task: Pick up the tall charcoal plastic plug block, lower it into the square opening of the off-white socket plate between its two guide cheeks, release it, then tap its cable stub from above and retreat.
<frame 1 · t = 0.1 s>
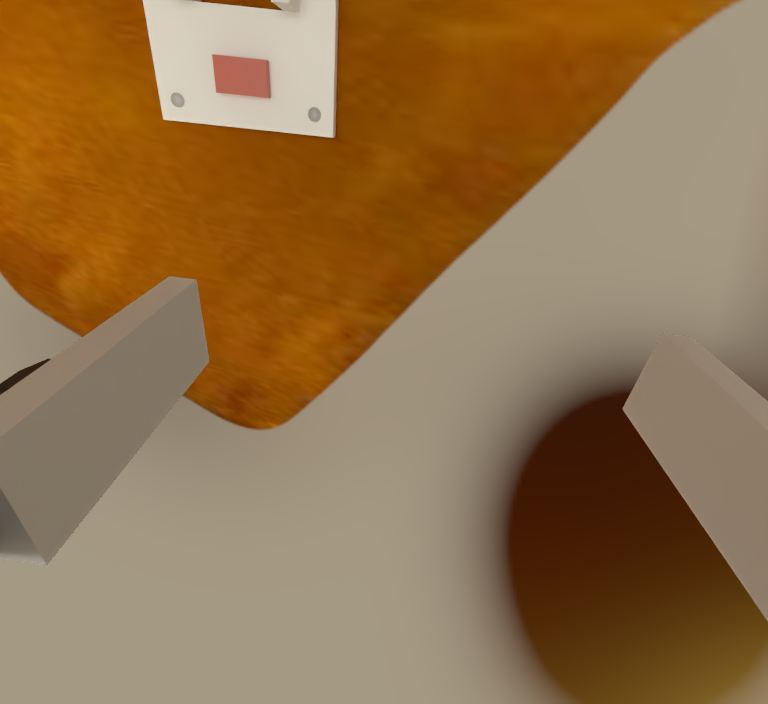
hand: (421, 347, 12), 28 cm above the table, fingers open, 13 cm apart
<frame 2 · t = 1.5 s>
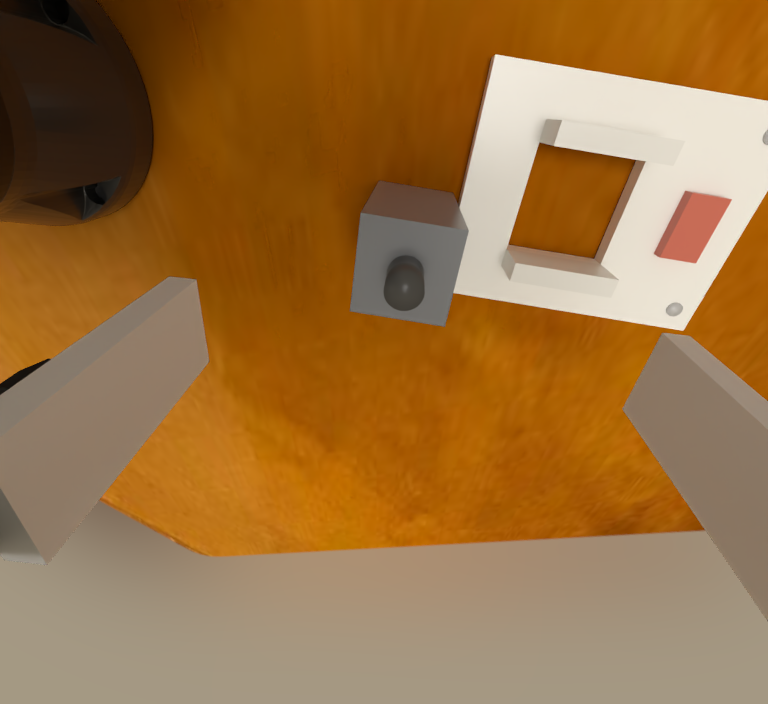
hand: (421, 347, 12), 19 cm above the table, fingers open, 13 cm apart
socket: (595, 208, 27), on the table
plug: (409, 224, 28), on the table
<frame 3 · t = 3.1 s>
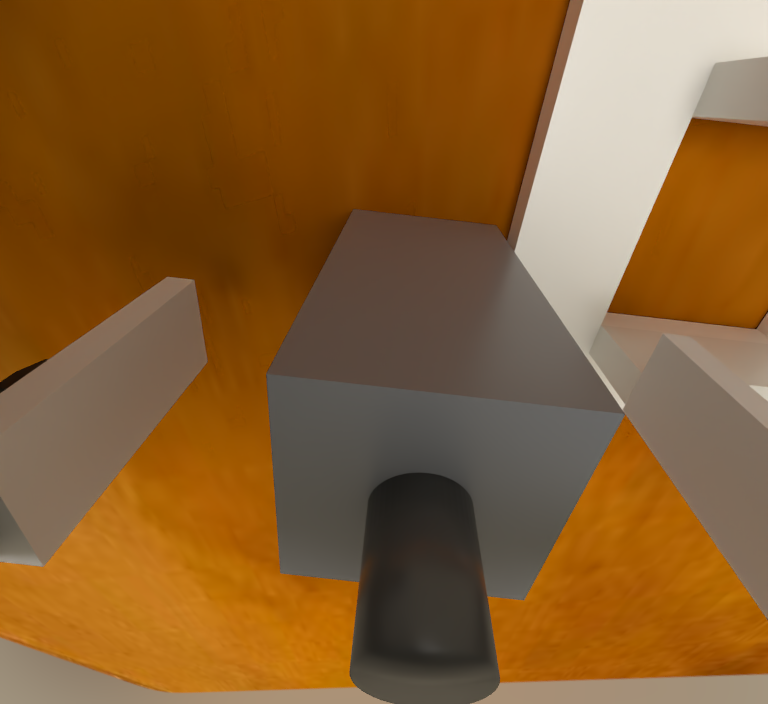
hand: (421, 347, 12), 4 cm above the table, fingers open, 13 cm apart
plug: (415, 284, 15), on the table
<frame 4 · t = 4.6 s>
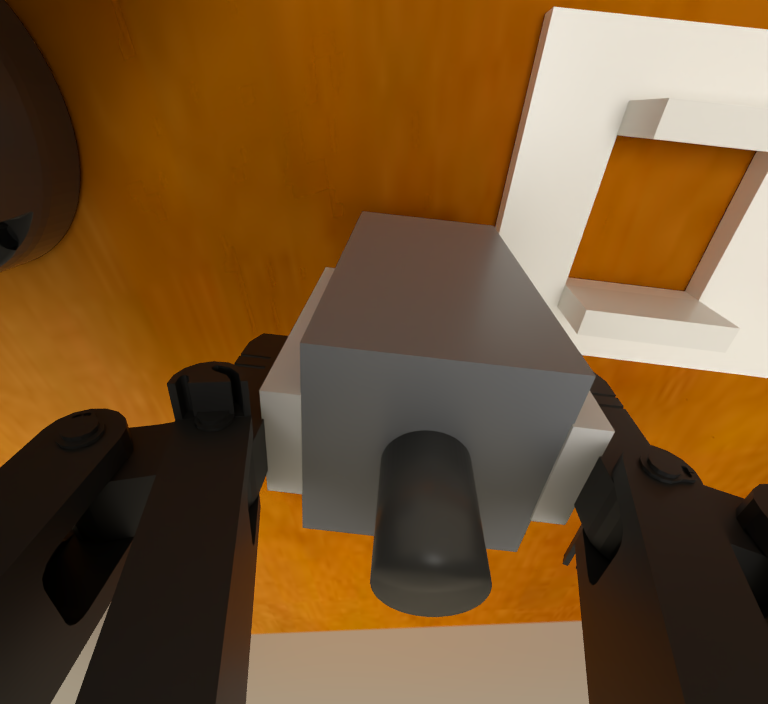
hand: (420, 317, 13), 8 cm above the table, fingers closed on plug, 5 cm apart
socket: (691, 224, 19), on the table
plug: (418, 280, 17), point 5 cm above the table, touching gripper
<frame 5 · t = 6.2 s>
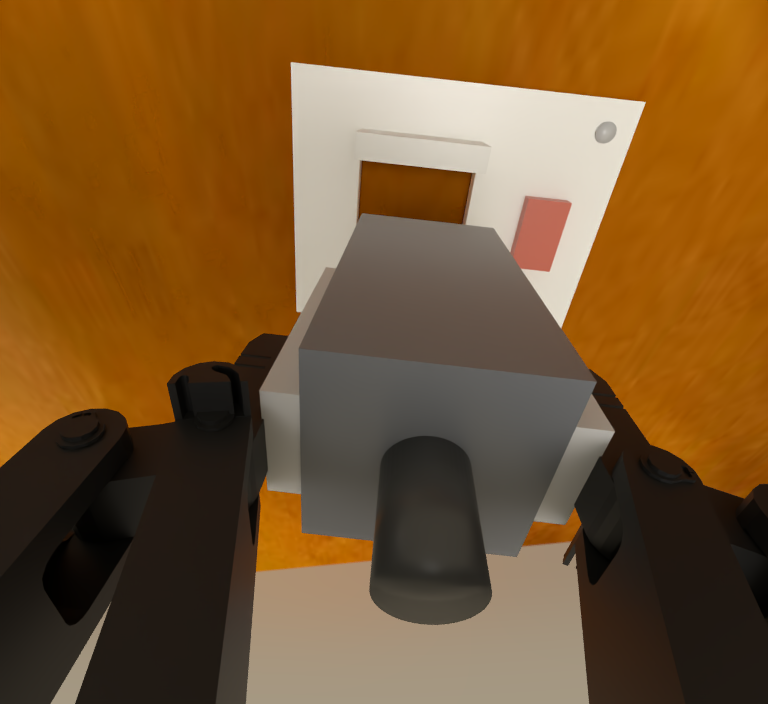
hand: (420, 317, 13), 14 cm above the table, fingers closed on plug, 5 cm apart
socket: (443, 217, 25), on the table
plug: (418, 282, 17), point 10 cm above the table, touching gripper
when the fingers open (3 cm above the table, at t = 8.0 s): plug stays where it is, resting in socket.
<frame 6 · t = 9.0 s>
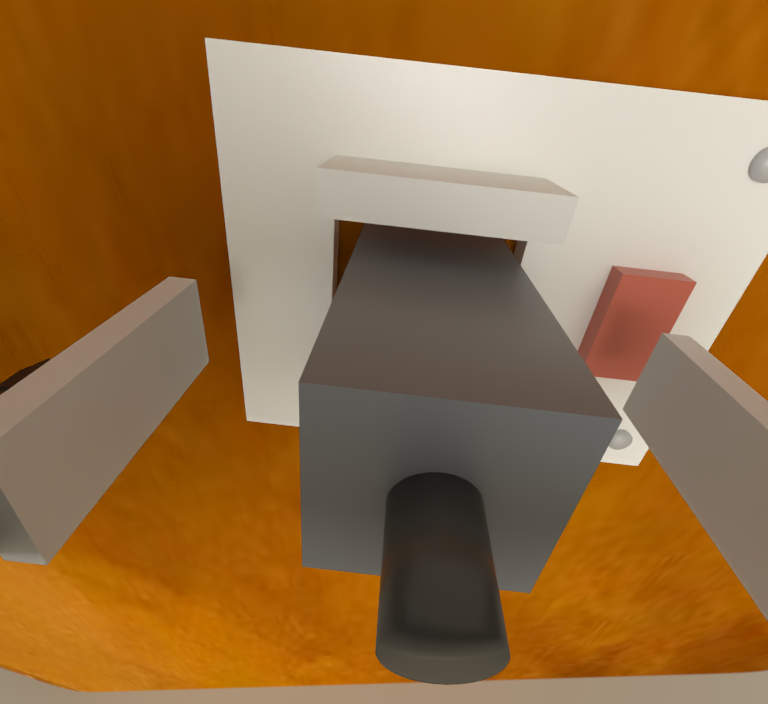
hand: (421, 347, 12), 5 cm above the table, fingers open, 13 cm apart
socket: (470, 291, 16), on the table
plug: (423, 292, 16), resting in socket
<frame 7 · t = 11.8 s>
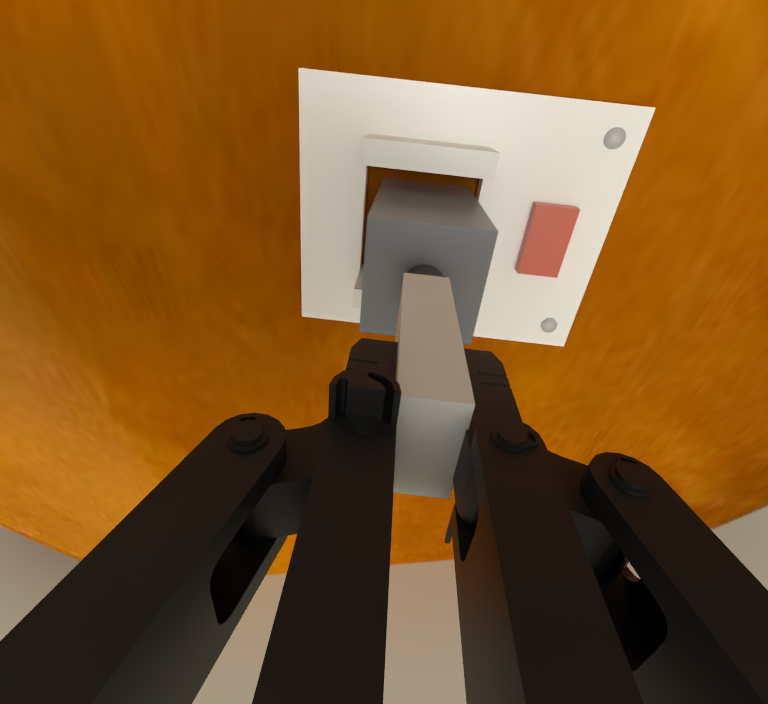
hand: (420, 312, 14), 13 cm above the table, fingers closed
socket: (449, 223, 25), on the table
plug: (419, 224, 25), resting in socket
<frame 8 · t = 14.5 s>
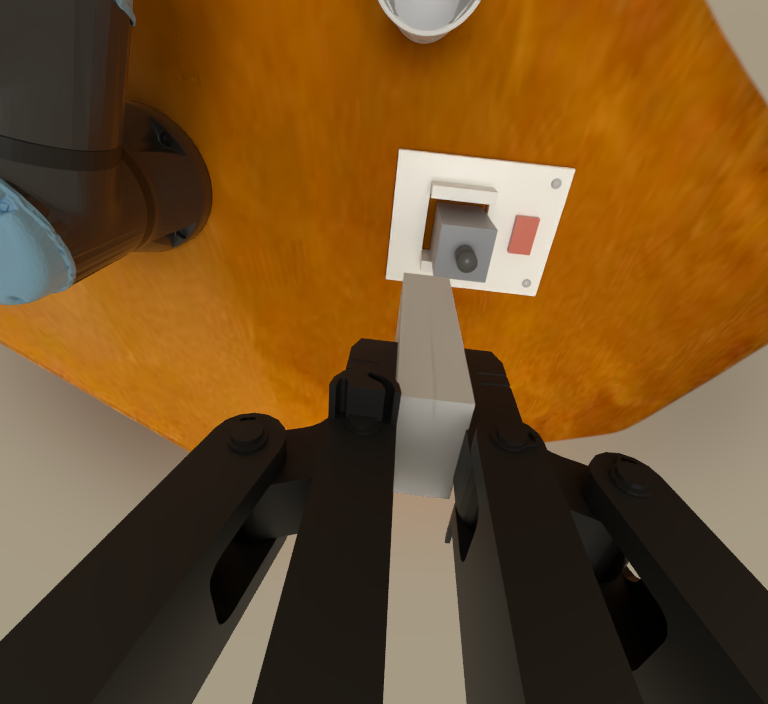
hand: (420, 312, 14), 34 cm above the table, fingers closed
socket: (471, 226, 46), on the table
plug: (455, 226, 46), resting in socket
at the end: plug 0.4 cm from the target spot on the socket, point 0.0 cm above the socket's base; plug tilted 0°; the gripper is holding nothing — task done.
